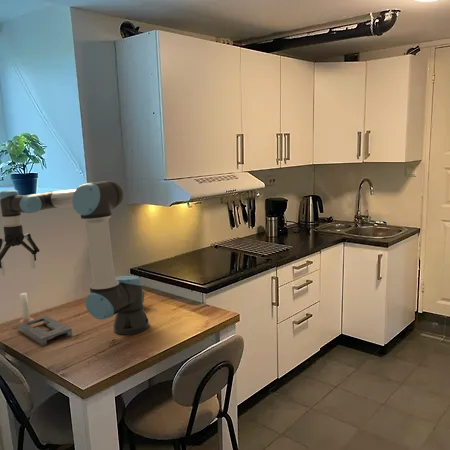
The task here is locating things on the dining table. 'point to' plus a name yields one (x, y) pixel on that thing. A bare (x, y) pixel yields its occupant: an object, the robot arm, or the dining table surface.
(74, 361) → the dining table surface
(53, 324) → the keyhole plate
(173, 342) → the dining table surface
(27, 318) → the peg
